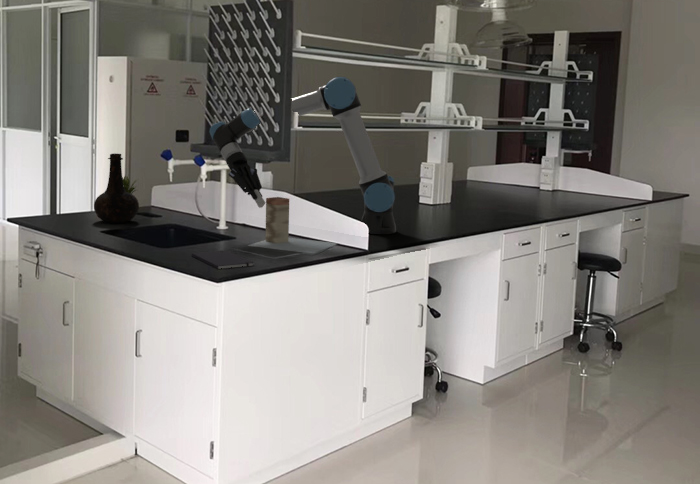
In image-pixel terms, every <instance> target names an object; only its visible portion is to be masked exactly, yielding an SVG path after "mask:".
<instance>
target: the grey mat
mask: <svg viewBox="0 0 700 484" xmlns="http://www.w3.org/2000/svg"><path fill="white" fill-rule="evenodd" d="M336 245H338V244H337V242H330V241H329V242H328V241H321V240H314V239H313V240H312V239H303V238H294V237H289V238H288V242H283V243H272V242H268V241H265V239H264V240H261V241H257V242H254V243H251V244H248V245H247V247H248V246H249V247H255V248H265V249H270V250H271V249H273V250H279V251H280V250H281V251H289V252H297V253H299V255H300V254H301V255H309V256H310V255H311V256H315V255H317V254H320V253H322V252H325V251H327V250H330V249H332V248H333V246H336Z"/></svg>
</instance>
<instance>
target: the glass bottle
mask: <svg viewBox="0 0 700 484" xmlns="http://www.w3.org/2000/svg"><path fill="white" fill-rule="evenodd" d="M107 160H109V172H108V181H107V185H106V189H105V191H104V192H103V193H101V194H99V195H98V196H97V197H96V198H95V200H94V203H93V209H94V213H95V214H96V216H97V217H98V218H99V219H100V221H103V222H104V223H108V224H120V223H122V224H124V223H128V222H131V220H133V219H134V218H135V217H136V215H137V214H138V211H139V209H140V207H139V206H140V204H139V200H138V199H137V197H136V196H135V195H134V194H133V193H132V194H130V193H127V192H126V191H125V189H124V186H123V180H124V179H123V180H122V177H123V173H122V170H123V169H122V160H124V158H123V157H122V154H121V153H110V154H109V157H108V158H107Z"/></svg>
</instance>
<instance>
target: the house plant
mask: <svg viewBox="0 0 700 484" xmlns="http://www.w3.org/2000/svg"><path fill="white" fill-rule="evenodd" d="M122 180H123V186H124V189H125V191H126V192H127V193H130V194H132V195H133V193H135V192H136V191H137V189H136V187H137V188H138V186H137V185H134V184H135V183H136V182H137V181H138V179H135V180H134V181H133V182H132V184H131V185H130V178H129V175H126V174H125V175H124V176H122Z"/></svg>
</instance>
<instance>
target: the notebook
mask: <svg viewBox="0 0 700 484" xmlns="http://www.w3.org/2000/svg"><path fill="white" fill-rule="evenodd" d="M191 257H192V258H195V259H196V260H199V261H201V262H203V263H204V264H207V265H209V266H211V267H212V268H215V269H217V270H221V268H222V269H229V268H231V267H232V268H241V267H242V266H243V267H250V266H251V267H252V266H254V261H252V260H250V259H248V258H246V257H243V256H241V255H238V254H236V253H234V252H232V251H229V250H225V249H224V250H216V251H215V250H214V251H201V252H192V253H191Z"/></svg>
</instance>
